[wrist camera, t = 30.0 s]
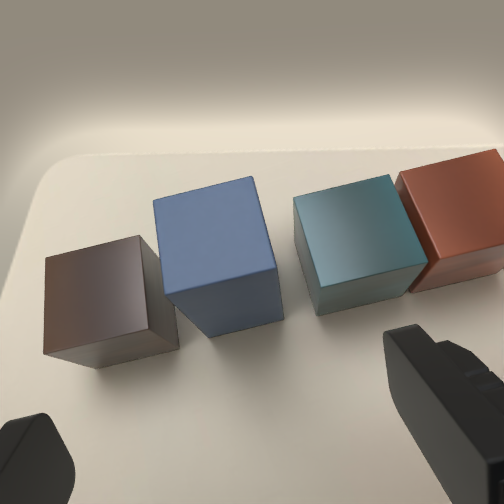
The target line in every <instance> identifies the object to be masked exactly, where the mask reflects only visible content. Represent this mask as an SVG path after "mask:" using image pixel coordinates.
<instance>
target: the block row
mask: <svg viewBox="0 0 504 504" xmlns="http://www.w3.org/2000/svg"><path fill="white" fill-rule="evenodd" d="M293 213H294V242H295V245H296V248H297V252H298V255H299V259H300V262H301V266H302V269H303V272H304V276H305V279H306V283H307V286H308V290H309V293H310V296H311V300H312V303H313V307H314V310H315V313H316V316H320V315H324V314H328V313H332V312H336V311H341V310H345V309H349V308H353V307H357V306H362V305H366V304H370V303H374V302H378V301H383V300H387V299H391V298H395V297H399V296H402V295H403V294H404V292H405V291H406V290H407V289H408V287H409V289H410V292H411V293H415V292H420V291H424V290H428V289H432V288H436V287H440V286H445V285H449V284H453V283H457V282H461V281H466V280H470V279H474V278H478V277H482V276H487V275H491V274H495V273H497V272H498V271H500V270H501V269H502V268H504V161H503V160H502V158H501V156H500V155H499V153H498V152H497V150H496V149H492V150H488V151H483V152H479V153H475V154H471V155H467V156H463V157H459V158H455V159H450V160H446V161H442V162H438V163H434V164H430V165H426V166H422V167H418V168H413V169H409V170H405V171H401V172H399V175H398V177H397V180H396V182H395V185H394V184H393V182H392V180H391V177H390V175H389V174H387V175H383V176H379V177H375V178H371V179H367V180H363V181H359V182H355V183H350V184H346V185H342V186H338V187H334V188H330V189H326V190H322V191H317V192H313V193H309V194H305V195H301V196H297V197H294V198H293ZM177 349H179V341H178V333H177V325H176V318H175V310H174V304H173V303H172V302H171V301H170V300H169V299H168V298H167V297H166V296H165V295H164V288H163V280H162V272H161V264H160V259H159V258H158V256H157V255H156V254H155V253H154V252H153V250H152V249H151V248H150V247H149V246H148V244H147V243H146V242H145V241H144V240H143V238H142V237H141V236H140V235H137V236H133V237H128V238H124V239H120V240H116V241H112V242H108V243H104V244H100V245H96V246H91V247H87V248H83V249H79V250H75V251H71V252H67V253H63V254H59V255H54V256H50V257H46V258H45V300H44V344H43V354H44V355H48V356H51V357H55V358H58V359H62V360H65V361H69V362H73V363H76V364H80V365H83V366H87V367H90V368H94V369H98V368H102V367H106V366H110V365H114V364H119V363H123V362H127V361H131V360H135V359H140V358H144V357H148V356H152V355H156V354H160V353H165V352H169V351H173V350H177Z"/></svg>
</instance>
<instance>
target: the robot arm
mask: <svg viewBox="0 0 504 504" xmlns="http://www.w3.org/2000/svg"><path fill="white" fill-rule="evenodd" d="M383 344H384V352H385V360H386V368H387V375H388V383H389V388H390V392H391V396H392V399H393V402H394V404H395V406H396V409H397V411H398V413H399V414H400V416H401V418H402V420H403V421H404V423H405V425H406V426H407V428H408V430H409V431H410V433H411V435H412V436H413V438H414V440H415V441H416V443H417V445H418V447H419V448H420V450H421V452H422V453H423V455H424V457H425V458H426V460H427V462H428V463H429V465H430V467H431V468H432V470H433V472H434V473H435V475H436V477H437V479H438V480H439V482H440V484H441V485H442V487H443V489H444V490H445V492H446V494H447V495H448V497H449V499H450V500H451V502H452V504H504V383H503V381H502V380H501V379H500V378H499V377H497V376H496V375H495V374H494V373H493V372H492V371H491V372H490V371H489V369H488V367H487V366H486V365H485V364H484V363H483V362H482V361H481V360H480V359H478V358H477V357H476V356H475V355H474V354H473V353H472V352H471V351H469V350H467V349H465V348H463V347H461V346H459V345H457V344H455V343H452V342H450V341H448V340H446V341H442V342H438V343H435V342H434V341H433V340H432V338H431V337H430V336H429V335H428V334H427V333H426V332H425V331H424V330H423V329H422V328H421V327H420V326H419V325H417V324H414V325H409V326H405V327H401V328H397V329H393V330H389V331H385V332H384V333H383ZM74 483H75V466H74V462H73V459H72V457H71V455H70V453H69V451H68V450H67V448H66V446H65V444H64V442H63V440H62V438H61V436H60V434H59V433H58V431H57V429H56V427H55V425H54V423H53V421H52V419H51V418H50V417H49V415H47V414H45V413H39V414H35V415H31V416H27V417H23V418H19V419H14V420H10V421H8V422H7V423H5V424H4V426H3V427H2V428H1V430H0V504H67V503H68V501H69V498H70V496H71V493H72V491H73V488H74Z"/></svg>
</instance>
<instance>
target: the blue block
mask: <svg viewBox="0 0 504 504" xmlns="http://www.w3.org/2000/svg"><path fill="white" fill-rule="evenodd" d="M153 208H154V216H155V224H156V232H157V240H158V248H159V256H160V264H161V272H162V280H163V288H164V295H165V296H166V297H167V298H168V299H169V300H170V301H171V302H172V303H173V304H174V305H175V306H176V307H177V308H178V309H179V310H180V311H181V312H182V313H183V314H184V315H185V316H186V317H187V318H188V319H189V320H190V321H192V322H193V323H194V324H195V325H196V326H197V327H198V328H199V329H200V330H201V331H202V332H203V333H204V334H205V335H206V336H207V337H208V338H211V337H215V336H219V335H223V334H227V333H231V332H235V331H240V330H244V329H248V328H252V327H256V326H260V325H264V324H268V323H272V322H277V321H281V320H283V319H284V315H283V307H282V300H281V293H280V285H279V278H278V271H277V265H276V261H275V257H274V254H273V250H272V246H271V242H270V239H269V235H268V231H267V227H266V224H265V220H264V216H263V212H262V209H261V205H260V201H259V197H258V194H257V190H256V186H255V182H254V179H253V177H252V176H249V177H245V178H241V179H237V180H233V181H229V182H224V183H220V184H216V185H212V186H208V187H204V188H200V189H196V190H192V191H188V192H184V193H180V194H176V195H172V196H168V197H164V198H160V199H156V200H153Z"/></svg>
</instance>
